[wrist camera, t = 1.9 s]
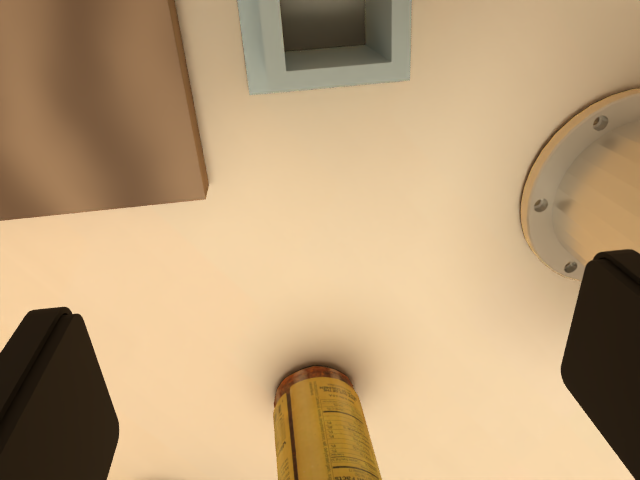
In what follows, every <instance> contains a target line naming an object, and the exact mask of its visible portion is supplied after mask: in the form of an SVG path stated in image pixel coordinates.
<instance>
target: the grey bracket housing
mask: <svg viewBox="0 0 640 480" xmlns="http://www.w3.org/2000/svg"><path fill="white" fill-rule="evenodd" d="M237 3H238V11H239V18H240V26H241V33H242V41H243V49H244V56H245V64H246V72H247V79H248V87H249V94H250V95H257V94H268V93H279V92H290V91H301V90H312V89H323V88H334V87H345V86H356V85H367V84H378V83H389V82H400V81H408V80H410V58H411V10H412V0H365V45H355V46H344V47H332V48H320V49H309V50H297V51H285V52H284V42H283V32H282V21H281V11H280V0H237Z"/></svg>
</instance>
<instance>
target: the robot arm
mask: <svg viewBox="0 0 640 480" xmlns="http://www.w3.org/2000/svg"><path fill="white" fill-rule="evenodd" d="M521 224H522V229H523V233H524V237H525V239H526V241H527V243H528V245H529V247H530V248H531V250H532V251H533V252H534V254H535V255H536V256H537V257H538V258H539V259H540V260H541V261H542V262H543V263H544V264H545V265H546V266H547V267H549V268H550V269H551V270H552V271H554V272H555V273H557V274H559V275H561V276H563V277H566V278H570V279H574V280H578V281H582V282H581V286H580V290H579V295H578V299H577V303H576V307H575V311H574V315H573V319H572V323H571V327H570V332H569V336H568V340H567V344H566V348H565V352H564V356H563V360H562V364H561V376H562V379H563V382H564V384H565V386H566V387H567V389H568V390H569V391H570V393H571V394H572V395H573V397H574V398H575V399H576V401H577V402H578V403H579V405H580V406H581V407H582V409H583V410H584V411H585V413H586V414H587V415H588V417H589V418H590V419H591V421H592V422H593V423H594V425H595V426H596V427H597V429H598V430H599V431H600V433H601V434H602V435H603V437H604V438H605V439H606V441H607V442H608V443H609V445H610V446H611V447H612V449H613V450H614V451H615V453H616V454H617V455H618V457H619V458H620V460H621V461H622V462H623V464H624V465H625V466H626V468H627V469H628V470H629V472H630V473H631V474H632V476H633V477H634V478H635V480H640V88H639V89H631V90H628V91H624V92H621V93H617V94H614V95H611V96H609V97H607V98H605V99H603V100H601V101H599V102H597V103H594V104H592V105H591V106H589V107H588V108H586V109H585V110H583V111H582V112H580V113H579V114H578V115H576V116H575V117H573V118H572V119H571V120H570V121H569V122H568V123H567V124H565V125H564V126H563V127H562V128H561V129H560V130H559V131H558V132H557V133H556V134H555V135H554V136H553V138H552V139H551V140H550V141H549V143H548V144H547V145H546V146H545V147H544V149H543V150H542V151H541V153H540V155H539V157H538V158H537V160H536V162H535V163H534V165H533V167H532V169H531V171H530V174H529V176H528V179H527V181H526V184H525V187H524V191H523V196H522V201H521ZM118 438H119V422H118V418H117V416H116V413H115V410H114V407H113V404H112V401H111V398H110V395H109V392H108V389H107V387H106V384H105V381H104V378H103V375H102V372H101V369H100V366H99V363H98V360H97V358H96V355H95V352H94V349H93V346H92V343H91V340H90V337H89V334H88V331H87V329H86V326H85V323H84V320H83V318H82V316H81V315H80V314H72V312H71V311H70V309H69V308H67V307H57V308H48V309H38V310H32V311H29V312H28V313H27V314H26V316H25V317H24V319H23V320H22V322H21V323H20V325H19V326H18V328H17V329H16V331H15V332H14V333H13V335H12V336H11V338H10V339H9V341H8V342H7V344H6V345H5V347H4V348H3V350H2V351H1V353H0V480H107V477H108V473H109V470H110V467H111V463H112V460H113V456H114V453H115V450H116V446H117V443H118Z"/></svg>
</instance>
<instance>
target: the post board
mask: <svg viewBox="0 0 640 480" xmlns="http://www.w3.org/2000/svg"><path fill="white" fill-rule="evenodd" d="M208 186H209V184H208V178H207V173H206V168H205V162H204V157H203V152H202V146H201V141H200V135H199V130H198V125H197V119H196V114H195V109H194V103H193V98H192V92H191V87H190V82H189V76H188V71H187V66H186V60H185V55H184V49H183V44H182V39H181V33H180V28H179V22H178V17H177V12H176V6H175V1H174V0H0V221H2V220H12V219H21V218H31V217H41V216H50V215H60V214H69V213H79V212H88V211H98V210H108V209H117V208H127V207H136V206H146V205H156V204H165V203H175V202H184V201H194V200H204V199H206V195H207V191H208Z"/></svg>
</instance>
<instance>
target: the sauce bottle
mask: <svg viewBox="0 0 640 480" xmlns="http://www.w3.org/2000/svg"><path fill="white" fill-rule="evenodd" d="M274 408H275V409H274V413H273V418H274V431H275V446H276V457H277V470H278V480H382V478H381V475H380V471H379V468H378V464H377V461H376V457H375V454H374V450H373V446H372V443H371V439H370V436H369V432H368V428H367V425H366V421H365V417H364V414H363V410H362V407H361V403H360V400H359V397H358V395H357V393H356V392H355V391H354V388H353V385H352V384H351V382H350V380H349V379H348V378H347V376H346V375H344V374H342V373H341V372H339V371H337V370H335V369H331V368H328V367H326V366H325V367H323V366H312V367H308V368H304V369H302V370H299V371H297V372H295V373H293V374H291V375H289V376H288V377H286V378H285V379H284V380H283V381H282V382H281V384H280V385H279V387H278V389H277V393H276V396H275V401H274Z"/></svg>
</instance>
